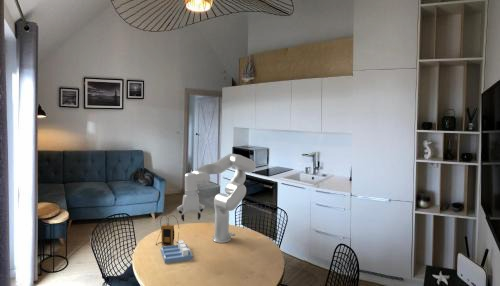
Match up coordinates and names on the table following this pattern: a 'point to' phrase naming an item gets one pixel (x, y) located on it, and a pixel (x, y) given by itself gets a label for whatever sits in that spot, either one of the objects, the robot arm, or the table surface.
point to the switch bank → (174, 254)
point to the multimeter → (168, 233)
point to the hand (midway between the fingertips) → (190, 219)
